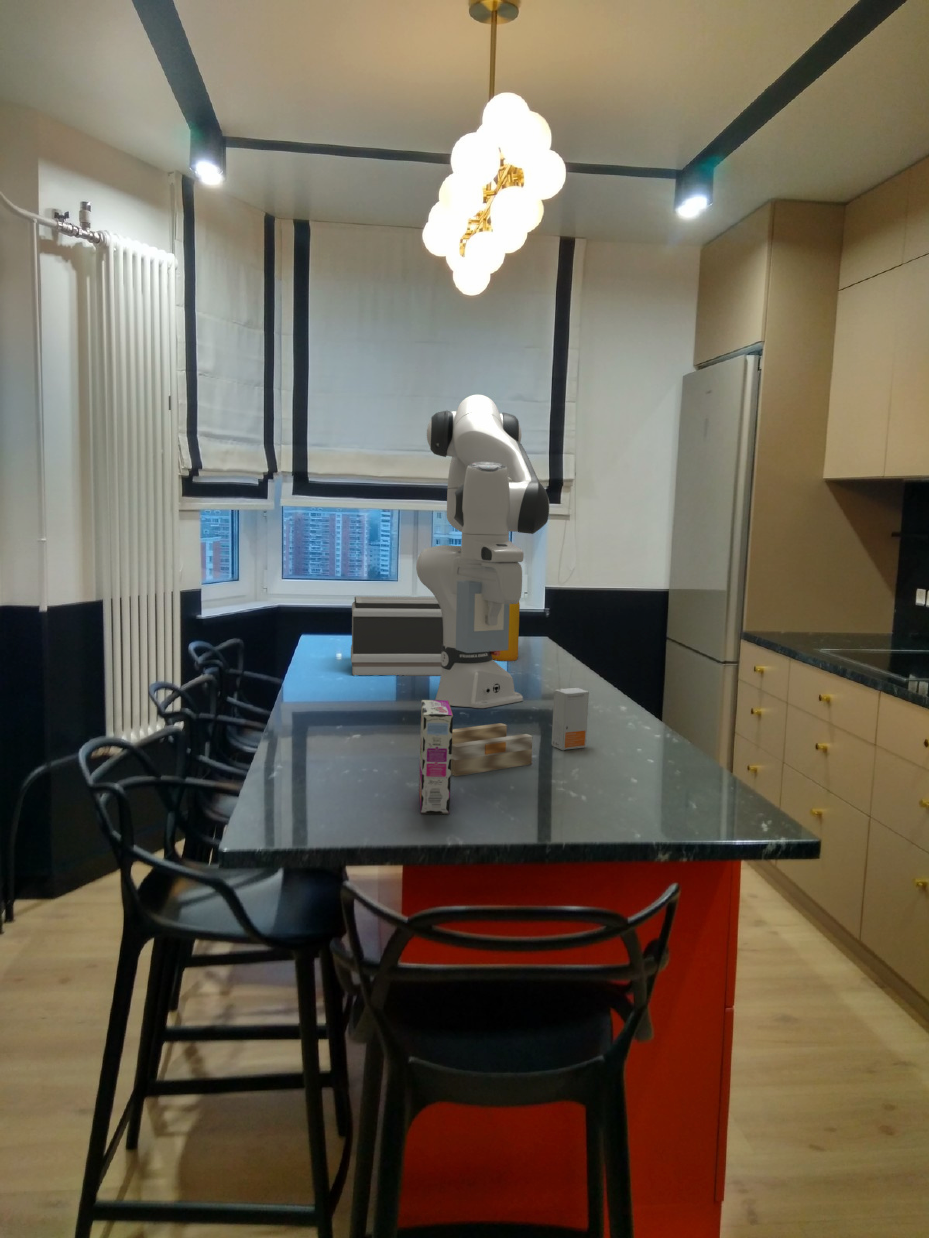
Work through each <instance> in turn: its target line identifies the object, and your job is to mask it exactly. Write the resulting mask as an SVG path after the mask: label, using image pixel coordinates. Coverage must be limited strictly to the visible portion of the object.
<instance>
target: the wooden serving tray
mask: <svg viewBox="0 0 929 1238" xmlns="http://www.w3.org/2000/svg"><path fill="white" fill-rule="evenodd" d="M507 729H508V725H506V724H505V723H501V722H499V723H492V724H484V725H477V726H476V725H475V726H469V727H460V728H453V731H452V758H451V776H454V777H460V776H465V775H466V776H467V775H472V773H473V774H477V773H483V772H489V771H490V772H491V771H497V770H503V769H508V768H509V769H510V768H515V767H521V766H522V767H523V766H527V765H528V766H529V765H533V763H532V761H533V735H530V734H528V733H525V734H524V733H523V734H516V735H507V733H508V732H507V731H508V730H507Z"/></svg>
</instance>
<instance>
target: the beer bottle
mask: <svg viewBox="0 0 929 1238" xmlns="http://www.w3.org/2000/svg"><path fill="white" fill-rule="evenodd" d="M520 607H521V604H520V601H519V602H518V603H517V604H509V636H508V650H502V651H500V653H501V654H499V656H495V655H492V658H493V659H492V660H493V661H495V662H496V661H497V662H515V661H517V660H518V657H519V639H520V638H519V634H520V631H519V630H520Z"/></svg>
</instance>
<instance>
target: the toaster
mask: <svg viewBox="0 0 929 1238" xmlns="http://www.w3.org/2000/svg"><path fill="white" fill-rule="evenodd" d="M351 613H352V614H351V615H352V616H351V626H352V627H351V646H350V661H351V667H352V668H351V670H352V671H351V672H352V675H353V676H354V675H396V676H395V677H428V676H429V677H434V676H435V677H441V670H442V667H441V646H442V644H443V618H442V612H441V608H440V605H439V603H438V601H437V599H436V597H435V596H434V597H433V596H427V597H426V596H354V601H353V602H352V604H351ZM397 675H399V676H397ZM402 675H404V676H402Z"/></svg>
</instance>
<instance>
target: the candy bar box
mask: <svg viewBox="0 0 929 1238" xmlns="http://www.w3.org/2000/svg"><path fill="white" fill-rule="evenodd" d="M420 713H421V714H420V739H419V741H420V742H419V743H420V744H419V770H418V771H419V772H418V773H419V774H418V775H419V776H418V797H419V805H420V807H419V809H420V814H423V815H424V814H425V815H427V814H431V815H432V814H433V815H434V814H436V815H444V814H446V815H447V814H450V812H451V811H450V806H451V805H450V804H451V784H452V781H451V780H452V779H451V778H452V774H451V758H452V731H453V729H454V727H453V726H454V724H453V723H454V715H453V714H454V713H453V711H452V709H451V705H450V704H449V701H446V700H435V699H422V700H421V711H420Z"/></svg>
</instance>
